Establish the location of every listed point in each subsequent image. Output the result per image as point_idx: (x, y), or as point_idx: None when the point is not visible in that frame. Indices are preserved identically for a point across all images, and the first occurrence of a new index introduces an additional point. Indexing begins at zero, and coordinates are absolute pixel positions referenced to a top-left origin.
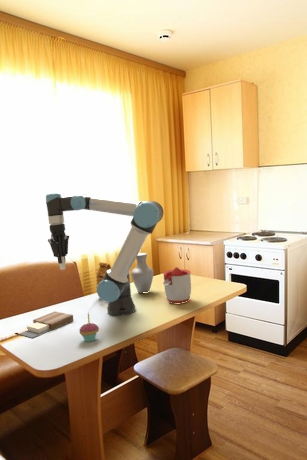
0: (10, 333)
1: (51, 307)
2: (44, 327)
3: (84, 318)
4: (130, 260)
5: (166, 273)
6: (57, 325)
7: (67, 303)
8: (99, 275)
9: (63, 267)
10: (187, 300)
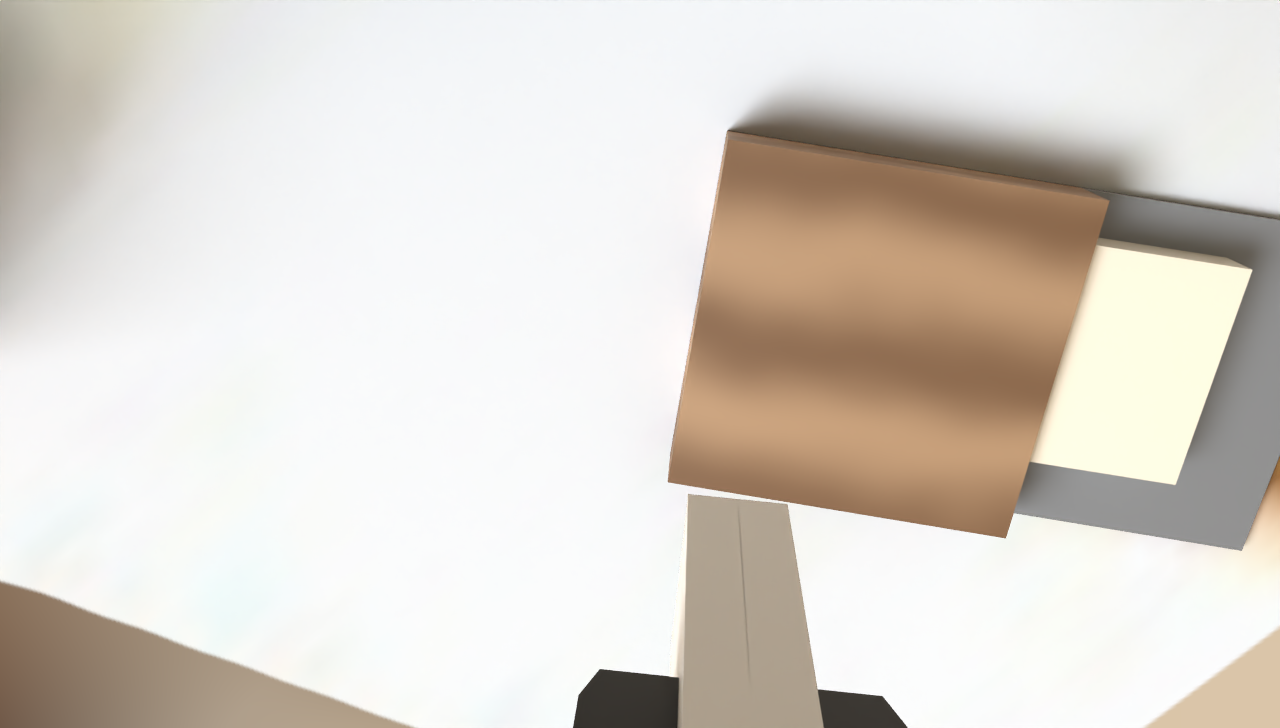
0: (1242, 588)
1: (414, 709)
2: (1158, 253)
3: (616, 28)
4: None
5: None
6: (995, 177)
7: (228, 621)
8: None
9: (790, 544)
10: None
